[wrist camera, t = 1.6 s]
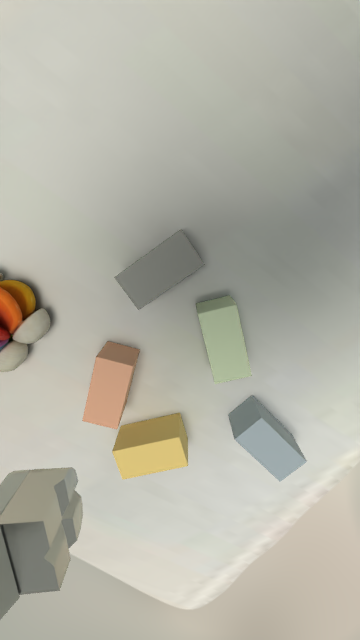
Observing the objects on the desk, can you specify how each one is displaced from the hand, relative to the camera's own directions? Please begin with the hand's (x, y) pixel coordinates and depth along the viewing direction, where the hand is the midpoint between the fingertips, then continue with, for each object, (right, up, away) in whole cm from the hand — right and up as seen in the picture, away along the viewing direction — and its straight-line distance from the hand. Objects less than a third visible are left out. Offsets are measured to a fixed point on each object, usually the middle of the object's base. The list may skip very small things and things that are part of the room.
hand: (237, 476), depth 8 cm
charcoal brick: (-3, +9, +23) cm, 25 cm away
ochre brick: (-4, -9, +28) cm, 30 cm away
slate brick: (+8, -8, +27) cm, 30 cm away
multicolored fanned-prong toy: (-19, +4, +25) cm, 32 cm away
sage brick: (+3, +3, +25) cm, 25 cm away
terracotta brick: (-8, -2, +26) cm, 27 cm away
